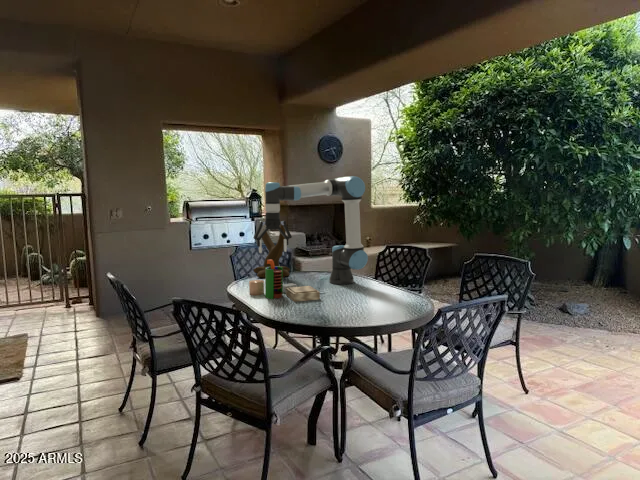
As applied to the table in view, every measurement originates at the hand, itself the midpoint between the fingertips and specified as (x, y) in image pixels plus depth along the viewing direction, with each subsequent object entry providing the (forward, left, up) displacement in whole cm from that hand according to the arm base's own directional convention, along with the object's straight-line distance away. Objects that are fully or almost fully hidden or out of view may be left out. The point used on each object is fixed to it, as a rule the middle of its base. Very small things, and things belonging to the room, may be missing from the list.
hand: (272, 252), depth 230 cm
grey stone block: (-11, -9, -24) cm, 28 cm away
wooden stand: (-15, -61, -25) cm, 67 cm away
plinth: (-14, +7, -24) cm, 29 cm away
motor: (0, 0, -24) cm, 24 cm away
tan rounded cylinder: (+7, -10, -24) cm, 27 cm away
